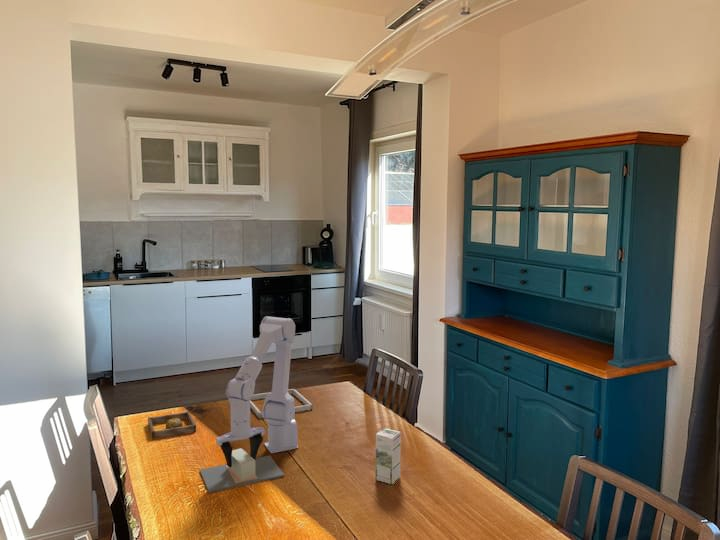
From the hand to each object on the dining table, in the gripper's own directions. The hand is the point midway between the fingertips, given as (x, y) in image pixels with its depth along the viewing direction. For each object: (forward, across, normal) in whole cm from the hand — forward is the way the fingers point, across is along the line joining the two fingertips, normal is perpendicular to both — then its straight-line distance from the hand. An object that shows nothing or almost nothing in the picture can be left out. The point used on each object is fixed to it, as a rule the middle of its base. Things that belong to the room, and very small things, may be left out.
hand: (241, 462), depth 163 cm
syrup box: (+4, -34, +28) cm, 44 cm away
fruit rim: (+4, +7, -47) cm, 47 cm away
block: (+3, 0, 0) cm, 3 cm away
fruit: (+4, +6, -44) cm, 44 cm away
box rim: (+4, -36, -46) cm, 58 cm away
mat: (+4, 0, 0) cm, 4 cm away
